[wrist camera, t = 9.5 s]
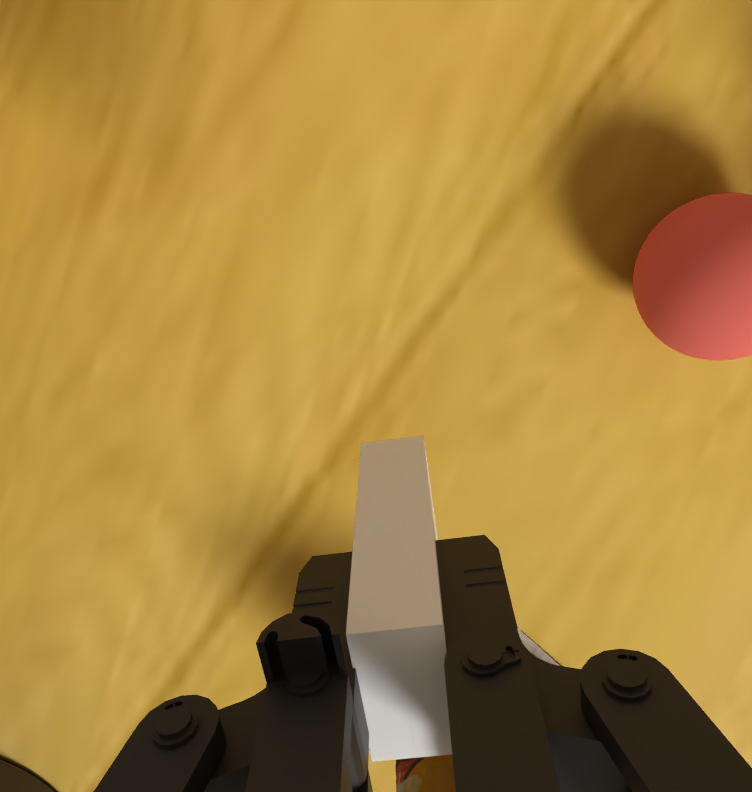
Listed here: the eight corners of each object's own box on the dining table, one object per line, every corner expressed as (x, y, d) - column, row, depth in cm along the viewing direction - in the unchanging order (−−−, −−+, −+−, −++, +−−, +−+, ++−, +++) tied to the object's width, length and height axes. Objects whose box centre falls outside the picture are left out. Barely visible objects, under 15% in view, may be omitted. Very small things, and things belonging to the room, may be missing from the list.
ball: (766, 327, 30) (619, 350, 30) (764, 178, 28) (608, 205, 29) (853, 365, 24) (669, 392, 25) (857, 179, 22) (659, 213, 23)
